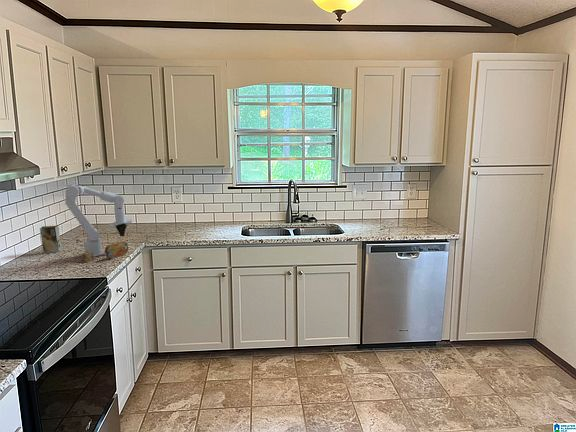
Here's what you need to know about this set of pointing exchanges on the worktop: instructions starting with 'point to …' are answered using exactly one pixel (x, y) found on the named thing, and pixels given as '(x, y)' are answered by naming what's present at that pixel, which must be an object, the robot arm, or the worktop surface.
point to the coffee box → (50, 239)
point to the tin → (116, 250)
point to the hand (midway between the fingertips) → (122, 236)
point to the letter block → (87, 257)
